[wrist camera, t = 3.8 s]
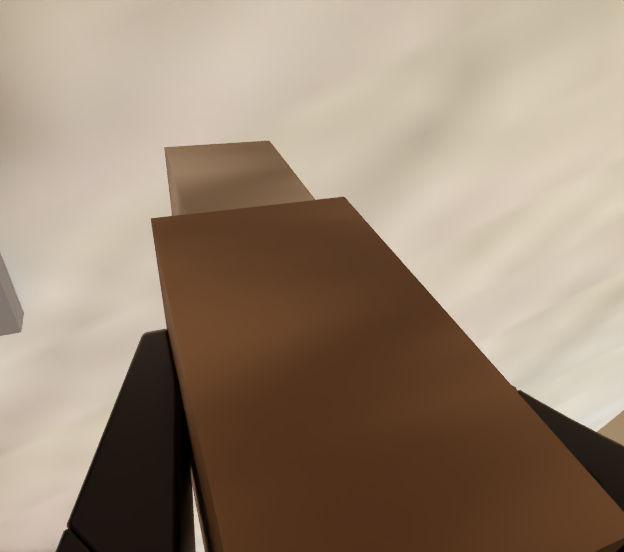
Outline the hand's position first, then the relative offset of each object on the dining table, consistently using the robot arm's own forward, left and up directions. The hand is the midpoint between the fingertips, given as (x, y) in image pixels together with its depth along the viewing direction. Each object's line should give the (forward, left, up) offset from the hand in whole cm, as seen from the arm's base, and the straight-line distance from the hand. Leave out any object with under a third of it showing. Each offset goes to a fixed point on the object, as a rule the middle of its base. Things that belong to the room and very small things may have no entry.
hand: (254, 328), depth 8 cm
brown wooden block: (0, 0, -3) cm, 3 cm away
